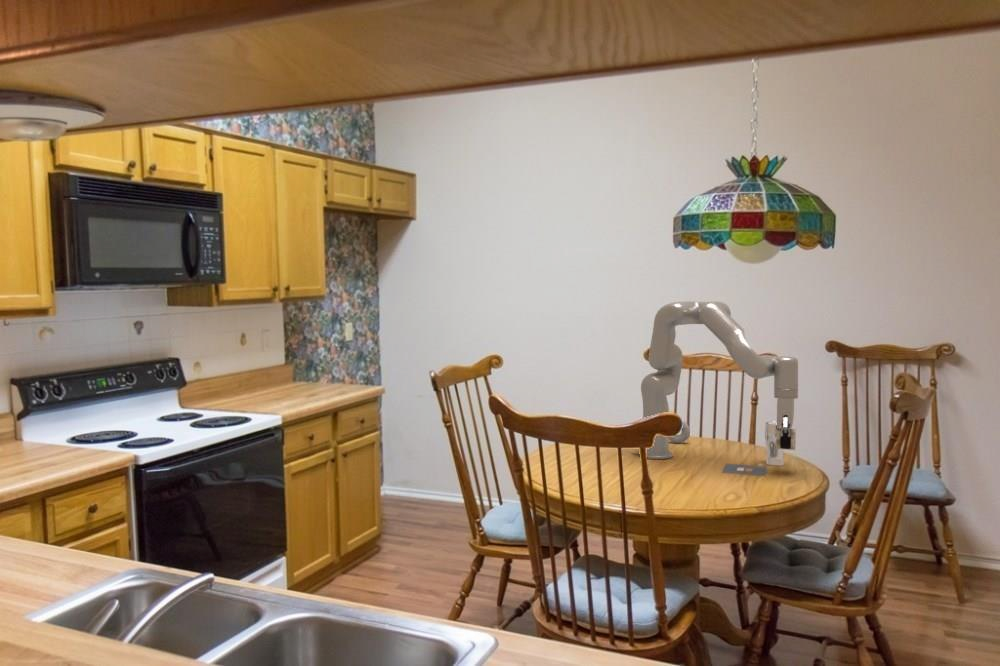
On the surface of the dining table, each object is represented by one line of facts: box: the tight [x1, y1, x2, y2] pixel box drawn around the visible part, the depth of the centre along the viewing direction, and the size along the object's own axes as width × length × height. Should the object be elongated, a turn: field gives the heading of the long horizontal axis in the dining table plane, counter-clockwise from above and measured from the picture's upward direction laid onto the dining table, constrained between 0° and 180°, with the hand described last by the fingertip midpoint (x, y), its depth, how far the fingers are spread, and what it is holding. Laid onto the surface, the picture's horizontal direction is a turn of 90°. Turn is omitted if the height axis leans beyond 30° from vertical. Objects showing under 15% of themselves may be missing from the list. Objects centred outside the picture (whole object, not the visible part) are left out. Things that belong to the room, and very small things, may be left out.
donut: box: [669, 420, 691, 444], centre depth 305 cm, size 10×3×10 cm, turn 68°
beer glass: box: [764, 421, 785, 466], centre depth 267 cm, size 7×7×15 cm
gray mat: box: [721, 463, 768, 477], centre depth 259 cm, size 14×14×1 cm
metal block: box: [776, 428, 797, 451], centre depth 253 cm, size 6×6×6 cm
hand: (785, 445), depth 253 cm, fingers closed on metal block, 6 cm apart
